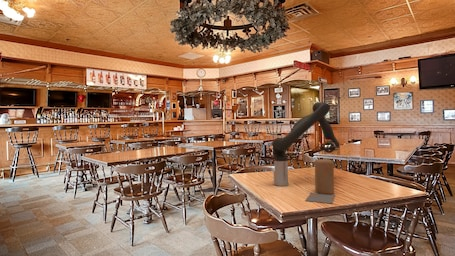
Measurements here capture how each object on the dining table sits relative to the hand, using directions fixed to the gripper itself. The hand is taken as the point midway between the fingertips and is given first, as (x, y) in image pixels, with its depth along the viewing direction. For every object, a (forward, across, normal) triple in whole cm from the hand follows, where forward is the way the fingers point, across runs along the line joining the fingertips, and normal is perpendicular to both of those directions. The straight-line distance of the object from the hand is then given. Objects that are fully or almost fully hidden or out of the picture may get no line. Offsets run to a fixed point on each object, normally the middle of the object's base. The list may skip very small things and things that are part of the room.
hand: (326, 149), depth 177 cm
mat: (+28, 0, +26) cm, 38 cm away
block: (+12, 0, +26) cm, 28 cm away
